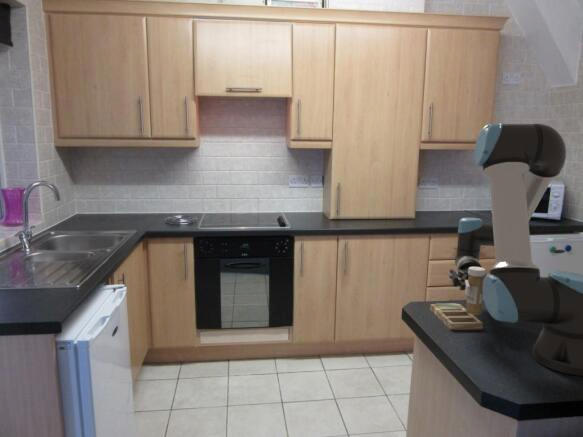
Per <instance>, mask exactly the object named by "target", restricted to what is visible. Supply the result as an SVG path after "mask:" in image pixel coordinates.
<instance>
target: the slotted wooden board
mask: <svg viewBox="0 0 583 437" xmlns="http://www.w3.org/2000/svg"><path fill="white" fill-rule="evenodd" d="M430 311H431V312H432V313H433V314H434V315H435V316H436V317H437V318H438V319H439V320H440V321H441V322H442V323H443V324H444V325H445V326H446V327H447V329H449V330H450V331H454V330H455V331H457V330H459V331H460V330H462V331H463V330H467V331H468V330H470V331H471V330H472V331H473V330H483V328H484V325H483V324H484V323H483V322H482V321H481V320H480V319H478V318H477V317H476V315H472V314H469V313H467V312H466V307H464V306H463V305H462V304H460V303H455V302H454V303H452V302H451V303H450V302H449V303H448V302H447V303H444V302H443V303H441V302H439V303H438V302H437V303H431V304H430Z"/></svg>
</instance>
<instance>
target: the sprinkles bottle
mask: <svg viewBox="0 0 583 437" xmlns="http://www.w3.org/2000/svg"><path fill="white" fill-rule="evenodd" d="M485 273H486V268H484V267H482V268H481V267H469V269H468V274H469V277H468V283H469V286H470V290H469V296H466V303H465V306H466V307H465V309H466V312H467V313H469V314H472V315H474V316H479V315H481V314H483V302H484V298H483V291H482V287H483V280H484V277H485Z"/></svg>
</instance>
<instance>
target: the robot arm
mask: <svg viewBox="0 0 583 437" xmlns="http://www.w3.org/2000/svg"><path fill="white" fill-rule="evenodd" d="M473 152H474V155H473V157H474V158H473V161H474V163H475V165H476V166H478V167H482V174H483V176H484V177H487V178H488V179H489V190H490V191H489V192H490V203H491V204H490V205H491V206H490V207H491V216H492V217H491V219H492V221H491V222H492V224H490V223H483V220H482V219H481V218H479V217H478V218H477V217H462V218H461V219H459V222H458V228H457V243H456V246H457V248H456V254H455V256H454V259H455V260H454V264H455V266H456V268H457V269H456V270H455V269H449V275H448V276H449V278H450V280H451V282H452V285H453V287H456V288H457V287H459V290H460V291H464V292H465V295H466V297H467V296H469V290H470V286H469V283H468V277H469V274H468V269H469V267H481V268H483V267H482V264H481V262H480V256H481V247H493V248H494V261H495V263H494V265H492V267H491V268H489V273H488V274H487V273H486V272H485V277H484V280H483V287H482V291H483V302H484V305H485V307H486V310H487V312H488V313H489V315H490V316H491V317H492V318H493V319H494V320H496V321H498V322H507V323H511V324H515V323H523V324H524V323H525V324H528V323H530V324H543V326H542V329H541V331H540V333H539V335H538V337H537V339H536V341H535V343H534V344H533V347H532V357H533V358H534V360H535V361H536V362H538V364H541V365H542V366H544V367H546V368H548V369H551V370H553V371H556V372H560V373H562V374H567V375H572V376H581V377H583V274H580V273H575V272H571V271H566V270H559V269H554V270H553V269H552V270H550V271H549V273H548V274H547V276H546V277H545V276H544V277H543V276H541V273H540V272H541V271H540V268H539V267H538V266H537V265H536V264H534V262H533V260H532V258H533V257H532V247H531V245H532V244H531V234H530V225H529V222H530V220H531V218H532V217H533V214H534V213H535V210H536V209H537V207H538V205H539V204H540V201H541V200H542V198H543V196H544V194H545V192H546V191H547V189H548V187H549V186H550V184H551V181H552V180H553V179H554V178H556V177H557V176H559V174H560V173H561V171H562V170H563V168H564V165H565V162H566V158H567V148H566V143H565V141H564V139H563V136H562V135H561V134H560V133H559V132H558V131H557V129H555V128H553V127H552V126H549V125H547V124H545V123H543V124H542V123H502V122H500V123H491V124H490V123H489V124H486V125H485V126H483V127H482V129H480V131H479V133H478V135H477V139H476V142H475V146H474V151H473ZM459 278H460V279H459Z"/></svg>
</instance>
